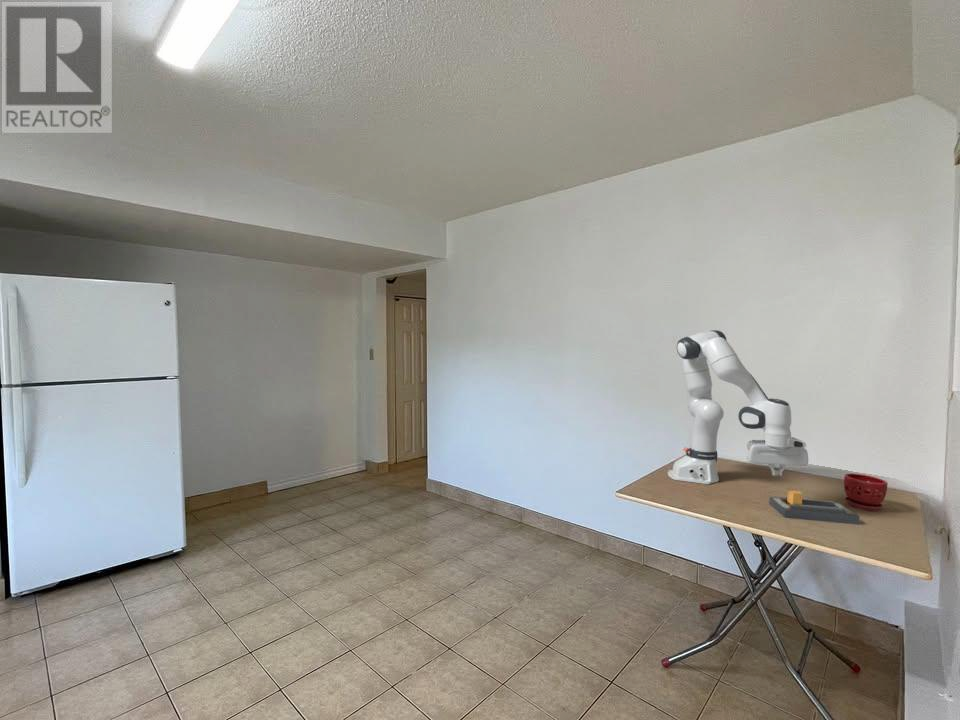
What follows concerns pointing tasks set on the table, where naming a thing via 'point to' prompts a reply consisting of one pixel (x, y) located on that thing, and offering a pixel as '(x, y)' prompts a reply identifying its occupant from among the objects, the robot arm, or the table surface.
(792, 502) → the block
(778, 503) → the gray rectangular tray
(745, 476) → the table surface
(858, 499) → the plant pot
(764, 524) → the table surface
